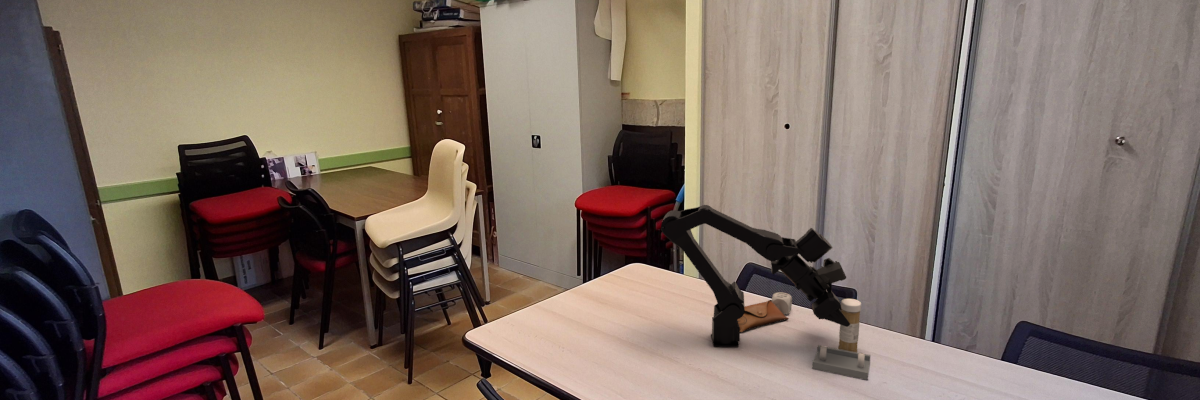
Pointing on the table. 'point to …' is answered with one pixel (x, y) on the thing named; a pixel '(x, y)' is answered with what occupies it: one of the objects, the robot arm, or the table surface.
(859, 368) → the tray
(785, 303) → the die
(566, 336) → the table surface
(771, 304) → the sunglasses case
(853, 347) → the sprinkles bottle
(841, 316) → the robot arm
